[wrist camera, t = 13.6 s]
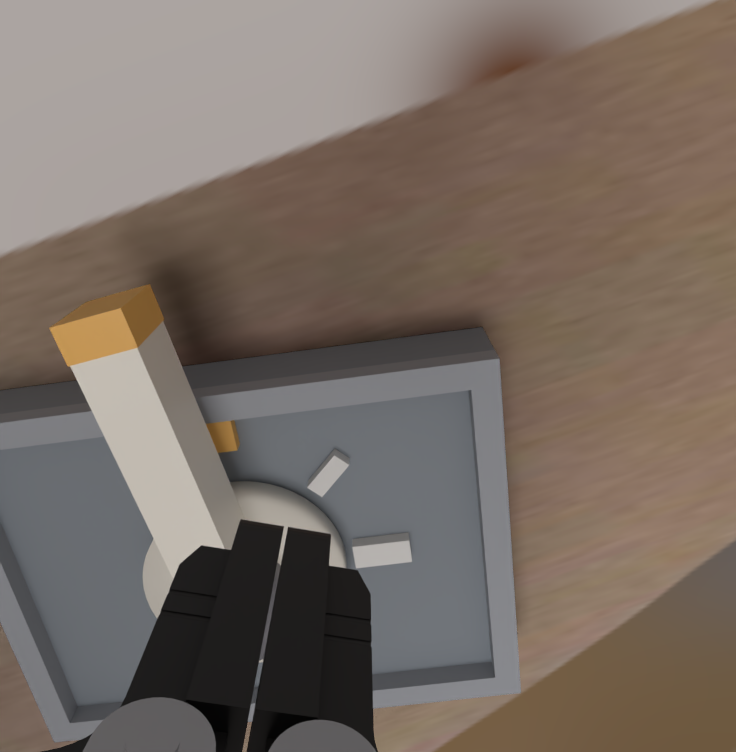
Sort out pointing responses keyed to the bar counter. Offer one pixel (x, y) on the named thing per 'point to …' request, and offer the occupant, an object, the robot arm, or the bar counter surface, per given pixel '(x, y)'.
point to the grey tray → (295, 473)
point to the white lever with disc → (168, 441)
